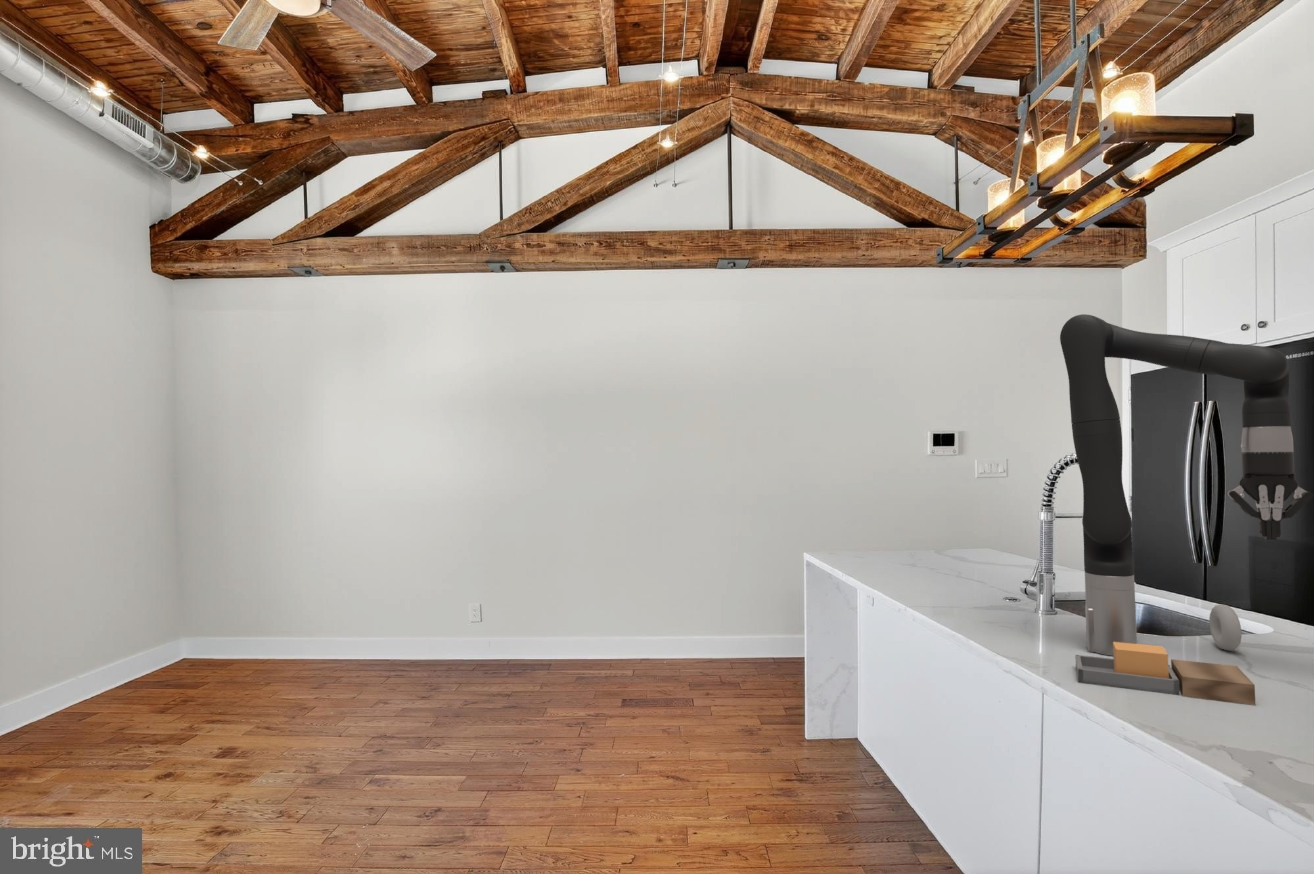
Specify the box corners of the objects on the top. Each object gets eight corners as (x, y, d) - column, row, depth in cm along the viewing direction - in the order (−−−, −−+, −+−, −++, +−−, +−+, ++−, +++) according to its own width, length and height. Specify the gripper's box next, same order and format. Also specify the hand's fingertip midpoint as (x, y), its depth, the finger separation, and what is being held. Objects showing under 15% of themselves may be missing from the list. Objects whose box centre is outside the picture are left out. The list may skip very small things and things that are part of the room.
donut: (1207, 643, 155) (1205, 599, 156) (1226, 644, 154) (1224, 600, 154) (1225, 655, 146) (1223, 608, 146) (1245, 656, 145) (1243, 609, 145)
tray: (1078, 682, 130) (1078, 669, 130) (1075, 666, 140) (1075, 654, 140) (1179, 694, 122) (1179, 680, 122) (1169, 677, 132) (1169, 664, 132)
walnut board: (1183, 696, 122) (1182, 676, 122) (1171, 677, 132) (1171, 659, 132) (1255, 705, 117) (1254, 684, 117) (1237, 684, 127) (1237, 665, 127)
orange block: (1169, 687, 125) (1117, 680, 129) (1164, 677, 130) (1114, 672, 134) (1167, 654, 125) (1115, 649, 129) (1162, 646, 130) (1112, 641, 134)
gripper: (1227, 450, 132) (1230, 539, 131) (1319, 449, 125) (1323, 543, 125) (1219, 450, 138) (1222, 535, 138) (1306, 450, 132) (1309, 539, 131)
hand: (1270, 539), depth 131 cm, fingers closed
